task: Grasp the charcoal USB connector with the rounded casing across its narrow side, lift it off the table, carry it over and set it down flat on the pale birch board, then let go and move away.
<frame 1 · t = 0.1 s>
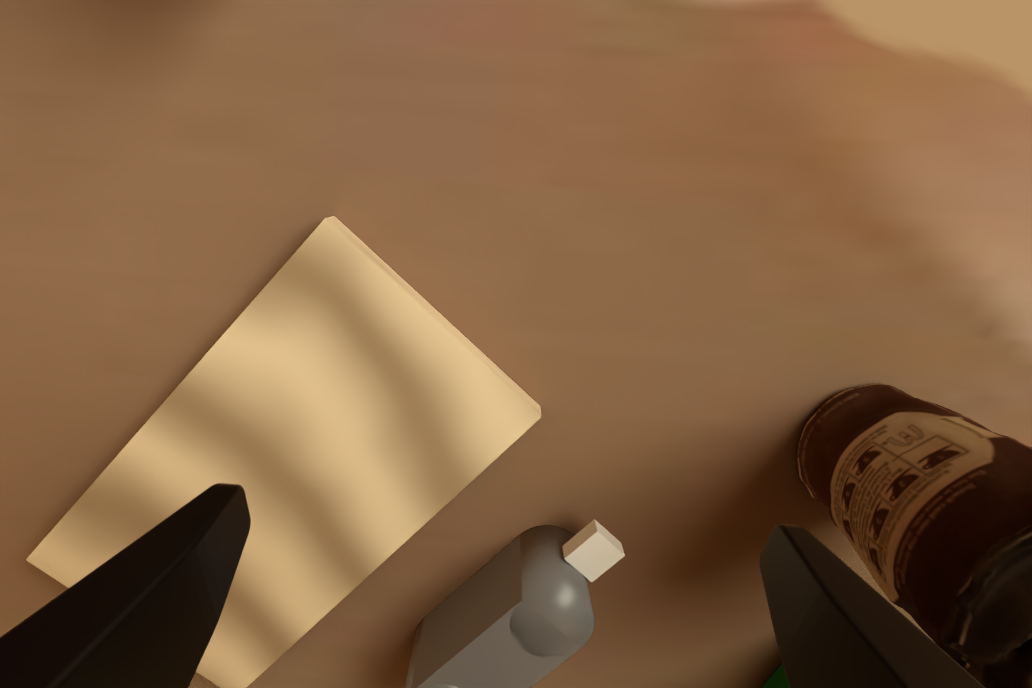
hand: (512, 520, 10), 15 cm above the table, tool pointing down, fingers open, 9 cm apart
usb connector: (496, 597, 29), on the table
coffee cup: (854, 443, 27), on the table
milk carton: (835, 677, 31), on the table
birch board: (284, 477, 27), on the table
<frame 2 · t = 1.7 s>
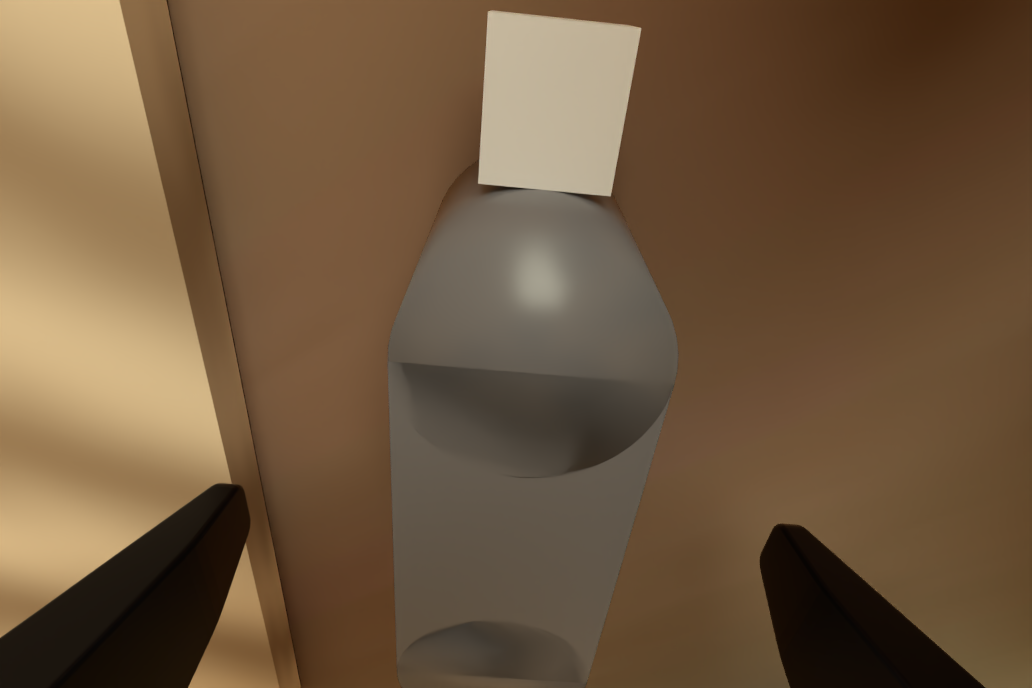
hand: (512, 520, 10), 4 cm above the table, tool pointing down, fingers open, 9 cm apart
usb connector: (512, 390, 13), on the table
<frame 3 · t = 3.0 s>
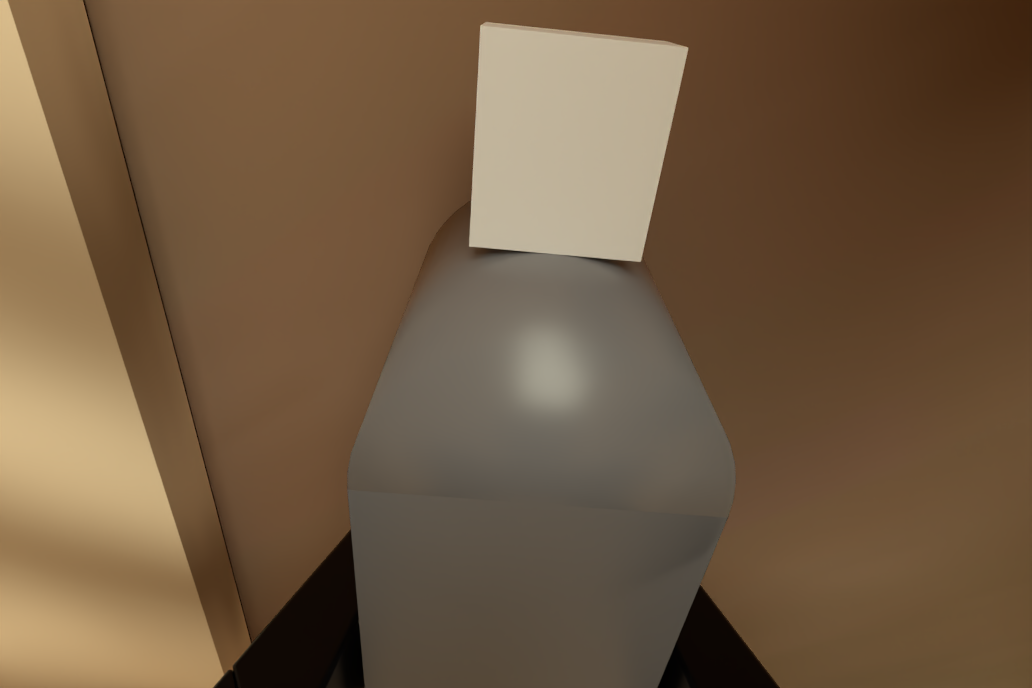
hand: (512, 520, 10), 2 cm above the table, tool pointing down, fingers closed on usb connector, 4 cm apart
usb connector: (513, 457, 11), on the table, touching gripper
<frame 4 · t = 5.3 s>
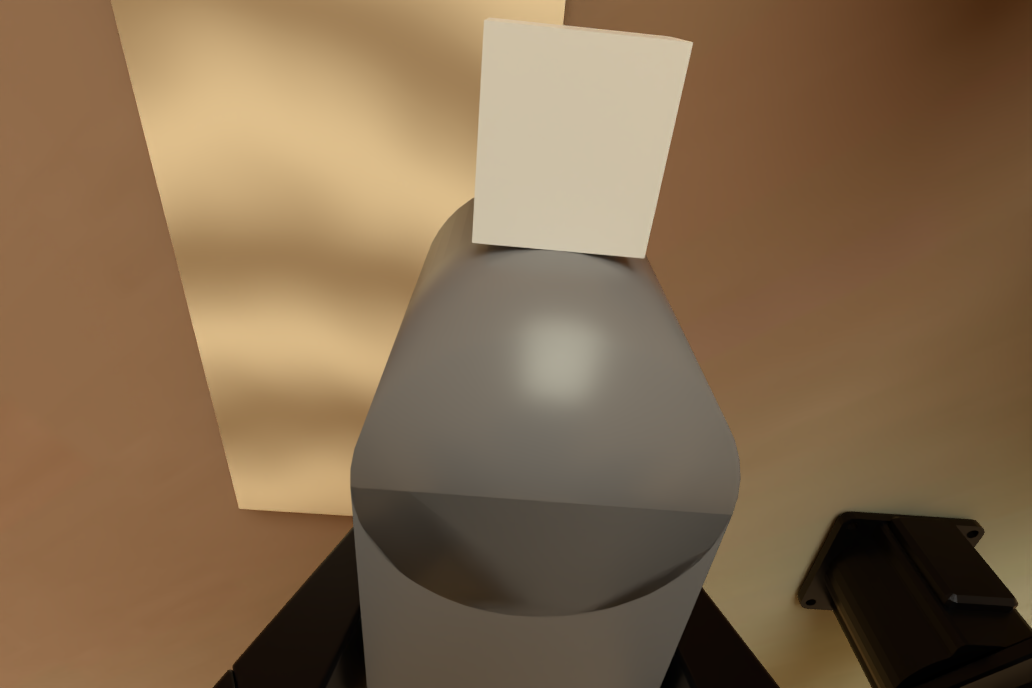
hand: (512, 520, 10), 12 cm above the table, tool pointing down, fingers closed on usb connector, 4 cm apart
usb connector: (515, 456, 11), point 10 cm above the table, touching gripper
birch board: (367, 277, 20), on the table
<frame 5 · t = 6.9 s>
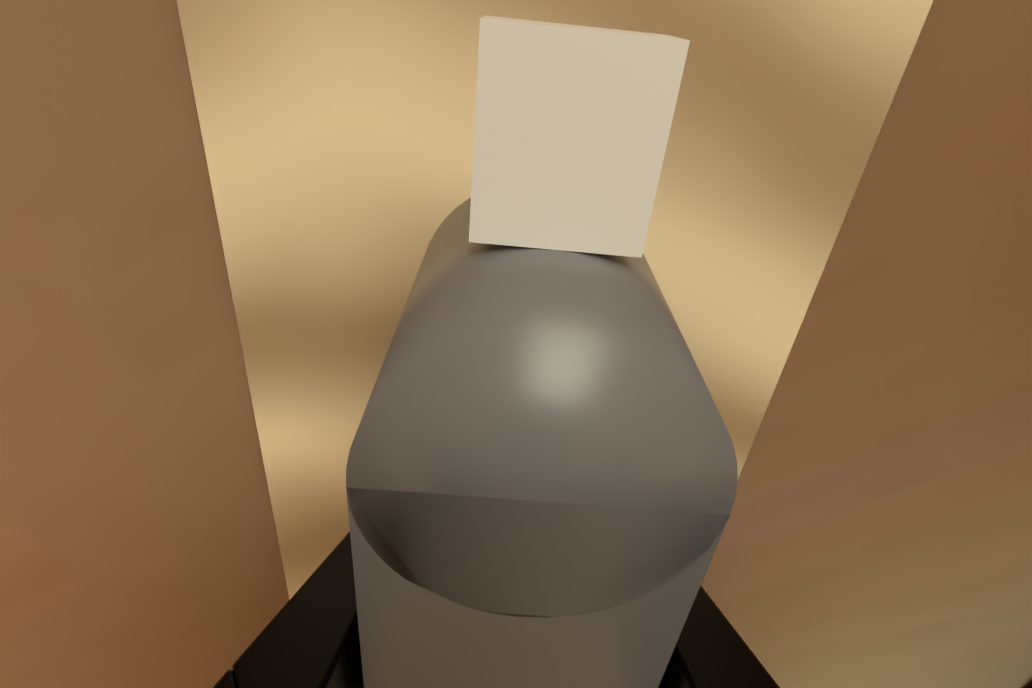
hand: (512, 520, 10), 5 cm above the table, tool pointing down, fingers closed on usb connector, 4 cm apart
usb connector: (513, 456, 11), point 4 cm above the table, touching gripper
birch board: (512, 356, 14), on the table
when the fingers open (4 cm above the table, at t = 7.9 s): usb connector stays where it is, resting on birch board.
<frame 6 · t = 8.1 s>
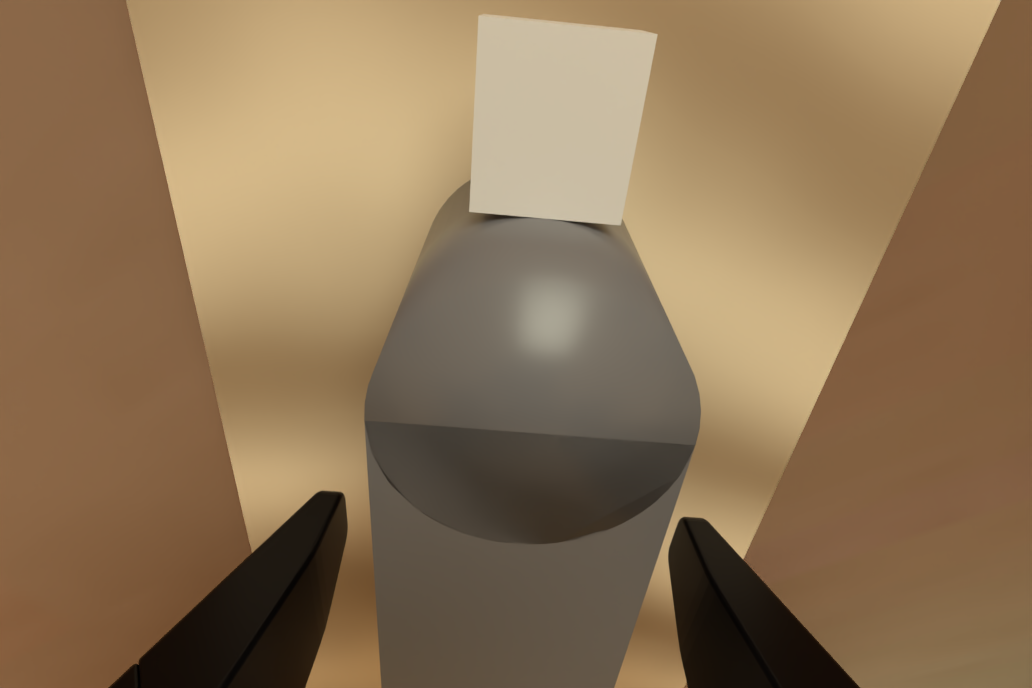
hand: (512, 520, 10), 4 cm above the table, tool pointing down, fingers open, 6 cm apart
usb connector: (511, 423, 12), point 1 cm above the table, touching birch board
birch board: (512, 391, 13), on the table
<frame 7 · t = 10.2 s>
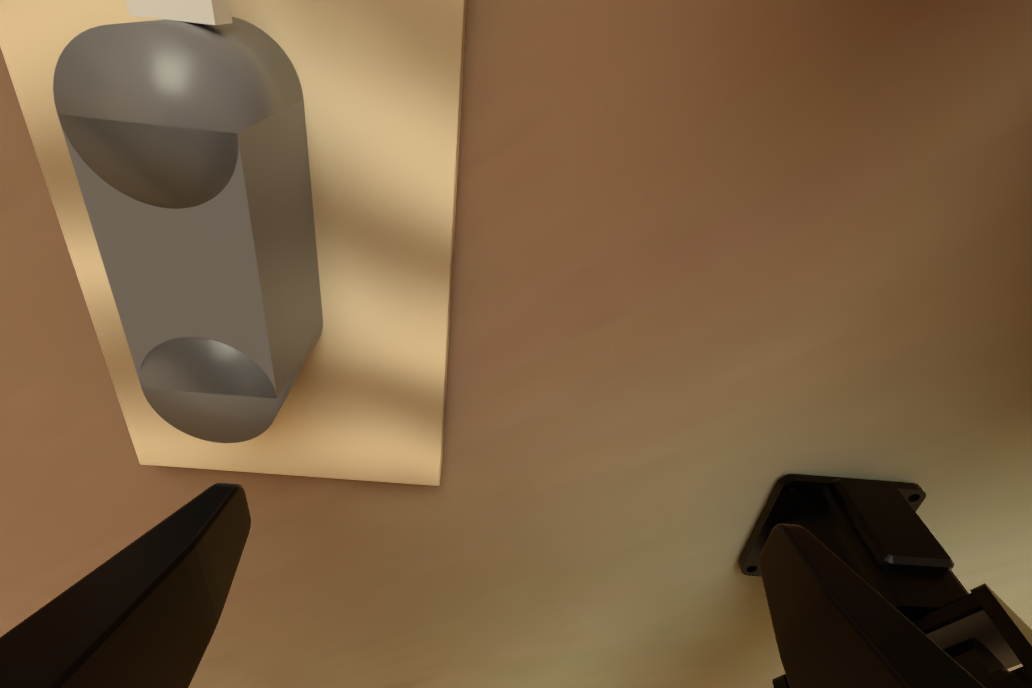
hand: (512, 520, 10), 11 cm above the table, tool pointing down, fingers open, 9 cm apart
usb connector: (254, 214, 17), point 1 cm above the table, touching birch board
birch board: (269, 204, 18), on the table
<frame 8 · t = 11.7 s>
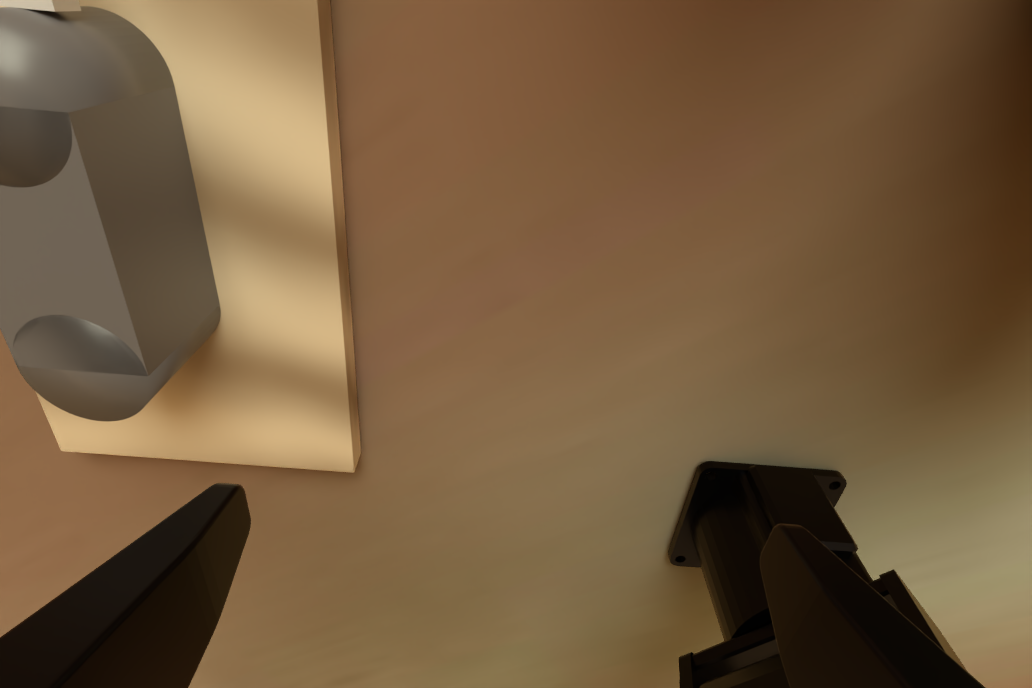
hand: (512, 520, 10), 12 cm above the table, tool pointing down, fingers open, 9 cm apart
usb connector: (141, 201, 18), point 1 cm above the table, touching birch board
birch board: (163, 192, 19), on the table
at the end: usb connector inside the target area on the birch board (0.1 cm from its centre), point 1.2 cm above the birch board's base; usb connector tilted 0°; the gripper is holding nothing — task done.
